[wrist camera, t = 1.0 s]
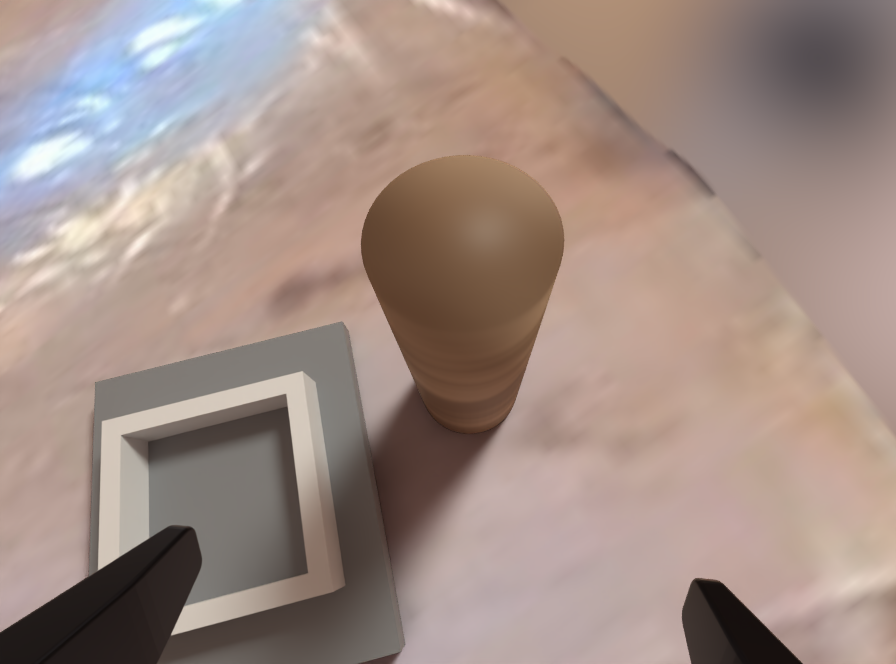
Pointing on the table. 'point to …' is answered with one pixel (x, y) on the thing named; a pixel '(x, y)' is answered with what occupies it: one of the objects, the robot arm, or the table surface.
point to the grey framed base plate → (253, 500)
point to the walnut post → (464, 280)
